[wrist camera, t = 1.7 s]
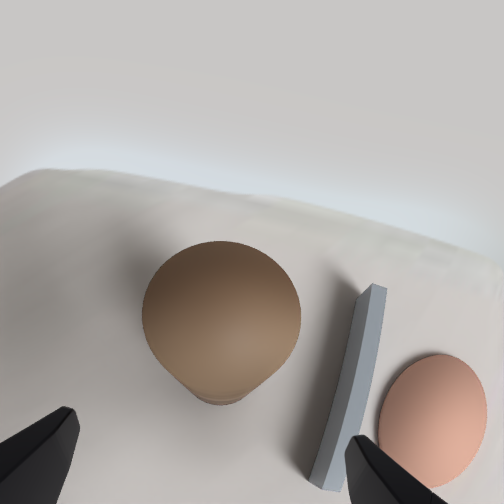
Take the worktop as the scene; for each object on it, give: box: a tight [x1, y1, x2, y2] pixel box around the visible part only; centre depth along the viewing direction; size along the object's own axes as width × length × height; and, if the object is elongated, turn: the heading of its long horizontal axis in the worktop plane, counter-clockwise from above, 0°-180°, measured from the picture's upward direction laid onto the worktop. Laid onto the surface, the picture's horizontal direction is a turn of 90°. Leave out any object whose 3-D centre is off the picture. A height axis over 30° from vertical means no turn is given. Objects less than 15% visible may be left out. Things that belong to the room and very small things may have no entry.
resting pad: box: [378, 355, 487, 488], centre depth 19 cm, size 11×11×1 cm
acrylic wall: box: [308, 283, 387, 492], centre depth 19 cm, size 14×1×3 cm, turn 162°
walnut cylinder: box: [142, 241, 301, 405], centre depth 15 cm, size 5×5×12 cm
